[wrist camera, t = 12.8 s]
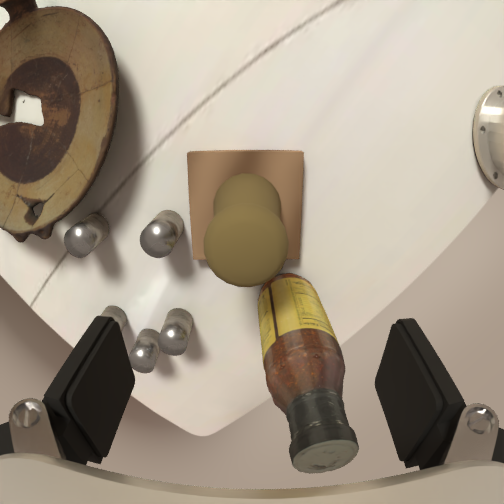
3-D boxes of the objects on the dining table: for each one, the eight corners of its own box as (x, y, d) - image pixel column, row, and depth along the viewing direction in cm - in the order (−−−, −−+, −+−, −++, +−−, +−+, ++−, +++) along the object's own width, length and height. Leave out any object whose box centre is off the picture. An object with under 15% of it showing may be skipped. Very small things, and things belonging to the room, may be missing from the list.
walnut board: (300, 150, 28) (303, 152, 26) (296, 252, 32) (298, 259, 30) (190, 151, 28) (187, 153, 26) (195, 253, 31) (193, 259, 30)
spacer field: (182, 209, 30) (171, 224, 26) (196, 350, 36) (191, 376, 32) (82, 213, 30) (61, 227, 26) (112, 344, 36) (100, 368, 32)
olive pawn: (260, 249, 30) (265, 317, 20) (201, 220, 29) (176, 275, 18) (293, 193, 28) (319, 236, 18) (232, 161, 27) (221, 184, 16)
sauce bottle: (280, 329, 35) (300, 492, 17) (245, 292, 33) (241, 464, 15) (329, 297, 34) (388, 455, 15) (296, 256, 32) (344, 419, 13)
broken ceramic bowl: (-27, 200, 29) (-66, 219, 22) (24, -25, 18) (-12, -41, 10) (108, 248, 31) (75, 281, 24) (189, -31, 20) (172, -68, 13)
